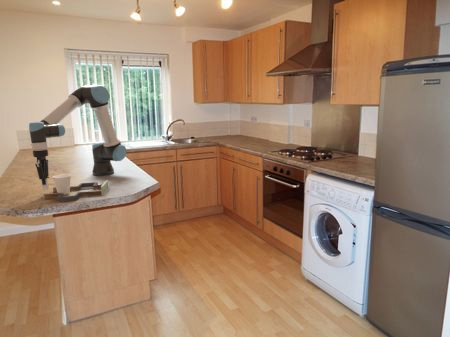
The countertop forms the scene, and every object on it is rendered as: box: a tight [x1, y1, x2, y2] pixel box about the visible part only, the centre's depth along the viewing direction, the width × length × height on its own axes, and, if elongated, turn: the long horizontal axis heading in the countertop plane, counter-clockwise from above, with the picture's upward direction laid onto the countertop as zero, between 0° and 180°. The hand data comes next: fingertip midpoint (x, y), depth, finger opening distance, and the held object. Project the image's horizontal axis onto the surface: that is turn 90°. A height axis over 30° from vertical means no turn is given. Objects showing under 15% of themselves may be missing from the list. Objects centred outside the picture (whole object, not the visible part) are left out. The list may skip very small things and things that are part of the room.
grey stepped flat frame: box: [43, 184, 103, 200], centre depth 195 cm, size 15×31×2 cm, turn 99°
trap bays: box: [56, 181, 99, 203], centre depth 195 cm, size 30×15×2 cm, turn 9°
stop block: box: [100, 179, 110, 196], centre depth 197 cm, size 15×1×5 cm, turn 9°
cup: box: [51, 173, 72, 196], centre depth 193 cm, size 10×10×11 cm
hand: (45, 189), depth 192 cm, fingers closed
